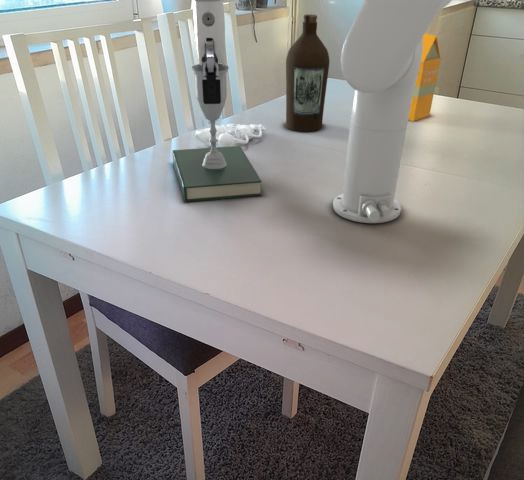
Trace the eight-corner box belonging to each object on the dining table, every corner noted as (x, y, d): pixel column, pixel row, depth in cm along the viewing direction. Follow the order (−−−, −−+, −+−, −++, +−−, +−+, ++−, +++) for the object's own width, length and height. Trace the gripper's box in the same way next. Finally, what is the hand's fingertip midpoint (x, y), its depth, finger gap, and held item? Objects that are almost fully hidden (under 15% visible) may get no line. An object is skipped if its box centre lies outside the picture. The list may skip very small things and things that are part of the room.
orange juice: (403, 109, 156) (416, 29, 143) (429, 116, 151) (445, 34, 138) (387, 114, 152) (399, 32, 139) (413, 121, 147) (428, 37, 134)
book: (261, 195, 106) (261, 180, 104) (184, 202, 103) (183, 186, 101) (240, 159, 122) (240, 145, 120) (173, 163, 119) (172, 150, 117)
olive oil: (282, 120, 146) (286, 11, 130) (321, 120, 146) (329, 12, 130) (285, 132, 137) (289, 18, 122) (326, 132, 138) (336, 18, 122)
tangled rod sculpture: (235, 129, 143) (234, 112, 140) (280, 135, 135) (279, 118, 133) (184, 146, 130) (182, 128, 128) (231, 154, 123) (229, 134, 120)
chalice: (229, 171, 108) (227, 72, 97) (195, 170, 108) (189, 71, 97) (232, 158, 114) (229, 63, 102) (199, 158, 114) (194, 62, 102)
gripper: (231, -6, 85) (233, 109, 96) (226, -17, 99) (229, 85, 110) (183, -6, 85) (191, 109, 96) (185, -17, 98) (192, 86, 109)
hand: (211, 96), depth 103 cm, fingers open, 9 cm apart
